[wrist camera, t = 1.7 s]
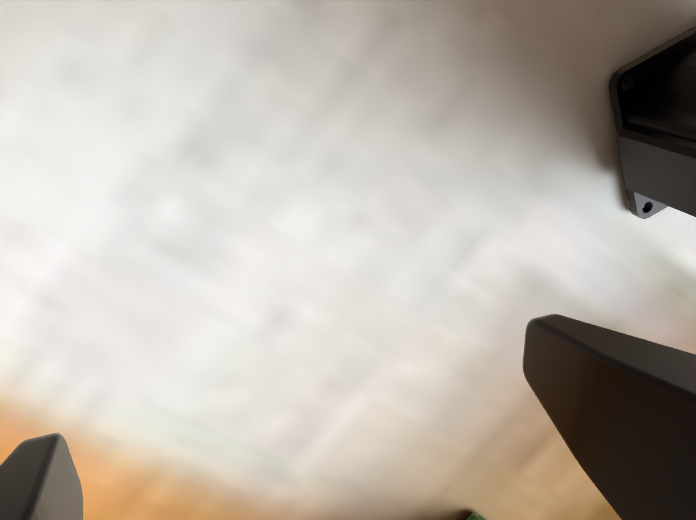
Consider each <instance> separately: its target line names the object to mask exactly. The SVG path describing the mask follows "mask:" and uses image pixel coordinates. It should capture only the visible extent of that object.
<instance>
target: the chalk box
mask: <svg viewBox="0 0 696 520" xmlns="http://www.w3.org/2000/svg"><path fill="white" fill-rule="evenodd" d="M466 520H485V519H484V518H483V517H482V516H480V515H479V514H477V513H472V514H471V515H470V516H469V517H468V518H467V519H466Z"/></svg>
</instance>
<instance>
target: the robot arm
mask: <svg viewBox="0 0 696 520" xmlns="http://www.w3.org/2000/svg"><path fill="white" fill-rule="evenodd" d="M625 78H626V83H625V85H624V87H623V88H622V83H623V81H624V79H625ZM609 91H610V97H611V103H612V108H613V114H614V120H615V125H616V131H617V141H618V147H619V152H620V158H621V163H622V169H623V175H624V180H625V186H626V188H627V193H628V199H629V205H630V210H631V212H632V214H633V215H635V216H637V217H639V218H642V219H646V218H649V217H651V216H652V215H654V214H656V213H657V212H659V211H661V210H663V209H664V208H666V207H668V206H670V207H672V208H675V209H677V210H680V211H682V212H685V213H687V214H689V215H692V216H694V217H696V27H694V28H692V29H690V30H689V31H687V32H685V33H683V34H681V35H680V36H678V37H676V38H674V39H672V40H671V41H669V42H667V43H665V44H663V45H662V46H660V47H658V48H656V49H654V50H653V51H651V52H649V53H647V54H645V55H644V56H642V57H640V58H638V59H636V60H635V61H633V62H631V63H629V64H627V65H626V66H624V67H622V68H620V69H618V70H617V71H616V72H615V73H614V74H613V75H612V77H611V79H610V82H609ZM644 204H645V206H644ZM643 206H644V207H643ZM523 372H524V375H525V378H526V380H527V382H528V384H529V385H530V387H531V388H532V390H533V392H534V393H535V395H536V396H537V398H538V400H539V401H540V403H541V404H542V406H543V408H544V409H545V411H546V412H547V414H548V416H549V417H550V419H551V420H552V422H553V424H554V425H555V427H556V428H557V430H558V432H559V433H560V435H561V436H562V438H563V440H564V441H565V443H566V444H567V446H568V448H569V449H570V451H571V452H572V454H573V455H574V457H575V458H576V460H577V461H578V463H579V464H580V466H581V467H582V468H583V470H584V471H585V472H586V474H587V475H588V477H589V478H590V479H591V481H592V482H593V483H594V484H595V486H596V487H597V488H598V490H599V491H600V492H601V493H602V495H603V496H604V497H605V499H606V500H607V501H608V503H609V504H610V505H611V506H612V508H613V509H614V510H615V512H616V513H617V514H618V515H619V517H620V518H621V519H622V520H696V355H695V354H692V353H688V352H685V351H681V350H678V349H674V348H671V347H668V346H664V345H661V344H657V343H654V342H651V341H647V340H644V339H640V338H637V337H633V336H630V335H627V334H623V333H620V332H616V331H613V330H610V329H606V328H603V327H599V326H596V325H592V324H589V323H586V322H582V321H579V320H575V319H572V318H569V317H565V316H562V315H558V314H550V315H546V316H542V317H538V318H534V319H532V320H530V321H529V322H528V324H527V327H526V334H525V345H524V355H523ZM0 520H83V495H82V488H81V483H80V480H79V477H78V474H77V471H76V469H75V466H74V463H73V460H72V457H71V454H70V452H69V449H68V446H67V443H66V441H65V439H64V437H63V436H62V435H60V434H58V433H53V434H49V435H45V436H40V437H36V438H32V439H28V440H25V441H23V442H22V443H21V444H20V445H18V446H17V448H16V449H15V450H14V451H13V452H12V453H11V454H10V455H9V456H8V457H7V458H6V459H5V461H4V462H3V463H2V464H1V465H0Z"/></svg>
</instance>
